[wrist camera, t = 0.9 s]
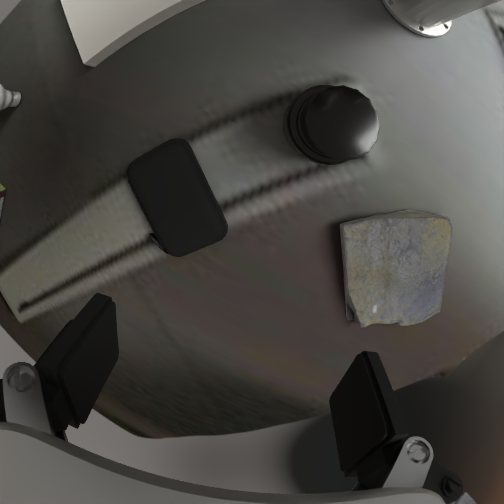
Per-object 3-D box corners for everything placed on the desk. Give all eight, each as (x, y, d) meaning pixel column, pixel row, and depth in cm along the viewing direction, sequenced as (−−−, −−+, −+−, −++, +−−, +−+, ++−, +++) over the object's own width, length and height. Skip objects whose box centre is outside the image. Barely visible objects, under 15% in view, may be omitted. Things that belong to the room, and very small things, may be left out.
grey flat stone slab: (345, 327, 46) (433, 309, 43) (349, 344, 42) (443, 323, 39) (335, 214, 39) (439, 199, 36) (341, 224, 35) (454, 207, 32)
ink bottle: (319, 176, 35) (345, 196, 24) (266, 132, 33) (268, 130, 22) (365, 122, 32) (409, 121, 21) (314, 77, 30) (338, 52, 19)
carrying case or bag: (122, 169, 36) (168, 258, 41) (112, 172, 33) (162, 267, 38) (187, 132, 34) (233, 231, 39) (180, 132, 31) (231, 239, 36)
